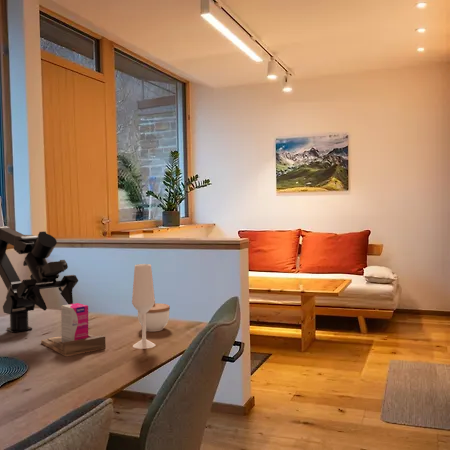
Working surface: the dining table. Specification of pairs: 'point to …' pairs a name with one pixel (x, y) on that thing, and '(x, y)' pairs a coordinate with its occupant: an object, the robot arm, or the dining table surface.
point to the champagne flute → (143, 298)
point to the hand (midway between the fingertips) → (59, 307)
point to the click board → (75, 345)
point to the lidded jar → (156, 317)
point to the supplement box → (74, 322)
